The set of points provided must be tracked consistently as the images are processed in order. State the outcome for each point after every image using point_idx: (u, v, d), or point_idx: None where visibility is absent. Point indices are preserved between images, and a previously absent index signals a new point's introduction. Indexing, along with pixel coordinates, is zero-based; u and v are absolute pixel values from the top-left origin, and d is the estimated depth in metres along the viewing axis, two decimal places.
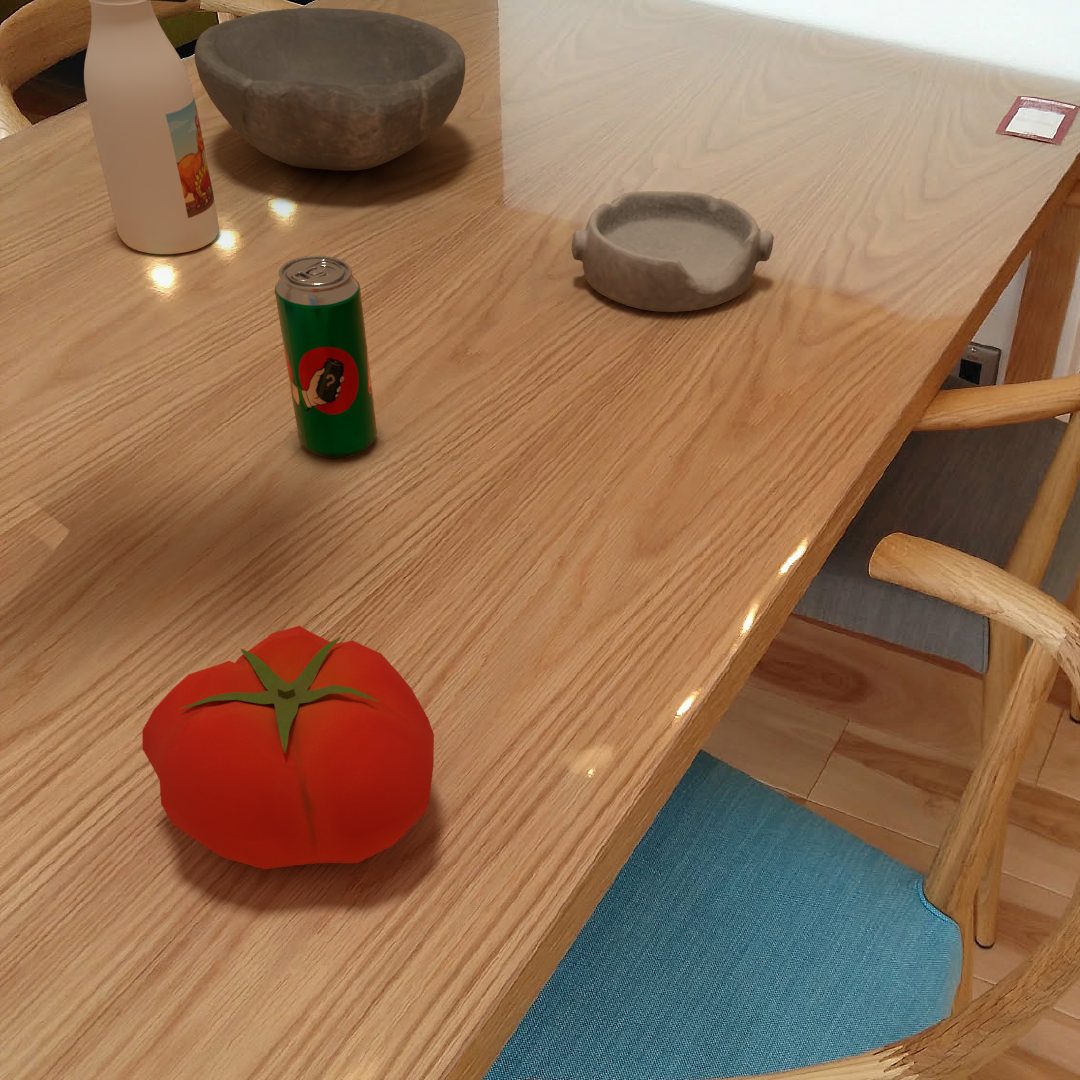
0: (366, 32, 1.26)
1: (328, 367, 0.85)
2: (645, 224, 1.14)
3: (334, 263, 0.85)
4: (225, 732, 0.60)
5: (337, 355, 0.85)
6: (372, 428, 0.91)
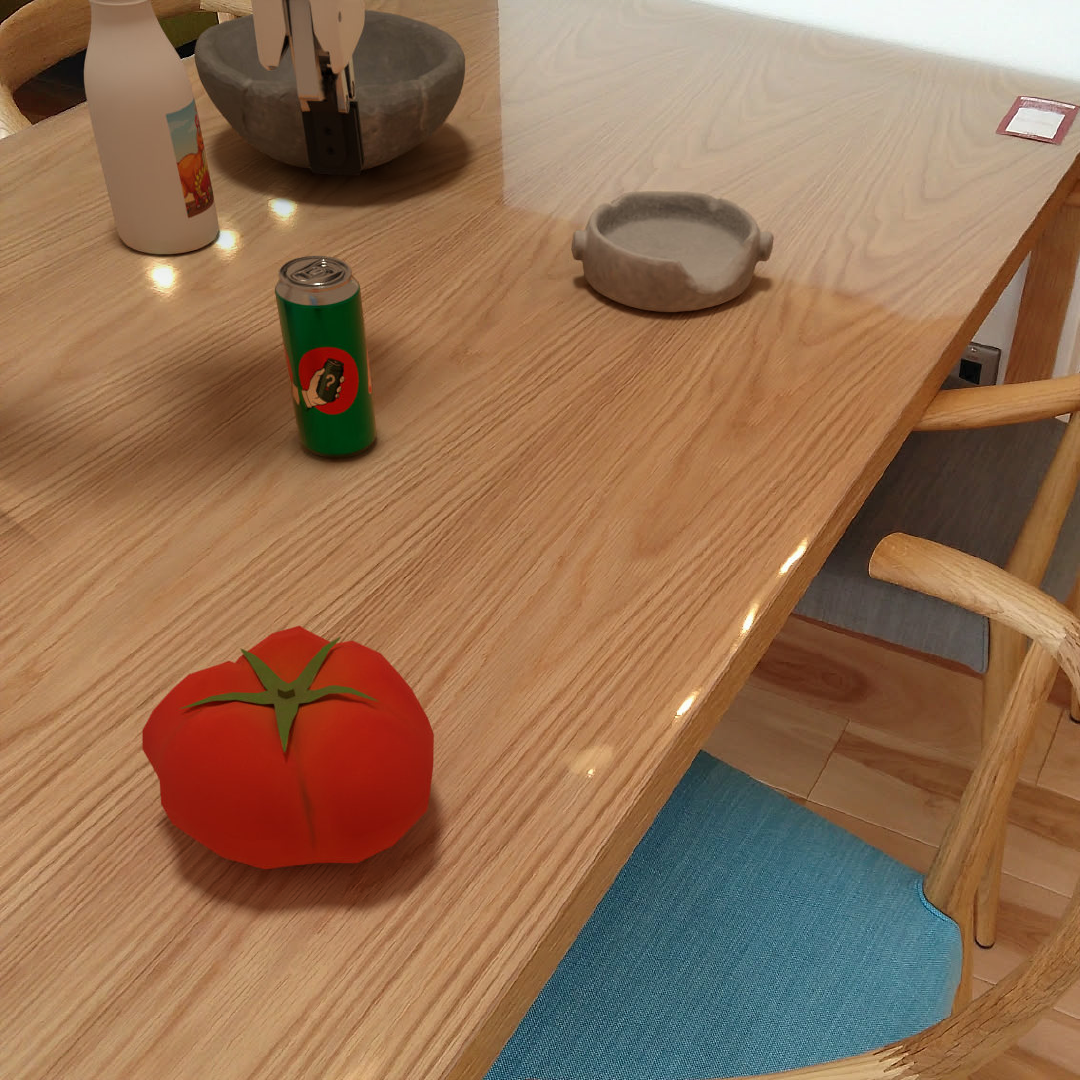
0: (366, 32, 1.26)
1: (328, 367, 0.85)
2: (645, 224, 1.14)
3: (334, 263, 0.85)
4: (224, 733, 0.60)
5: (337, 355, 0.85)
6: (372, 428, 0.91)
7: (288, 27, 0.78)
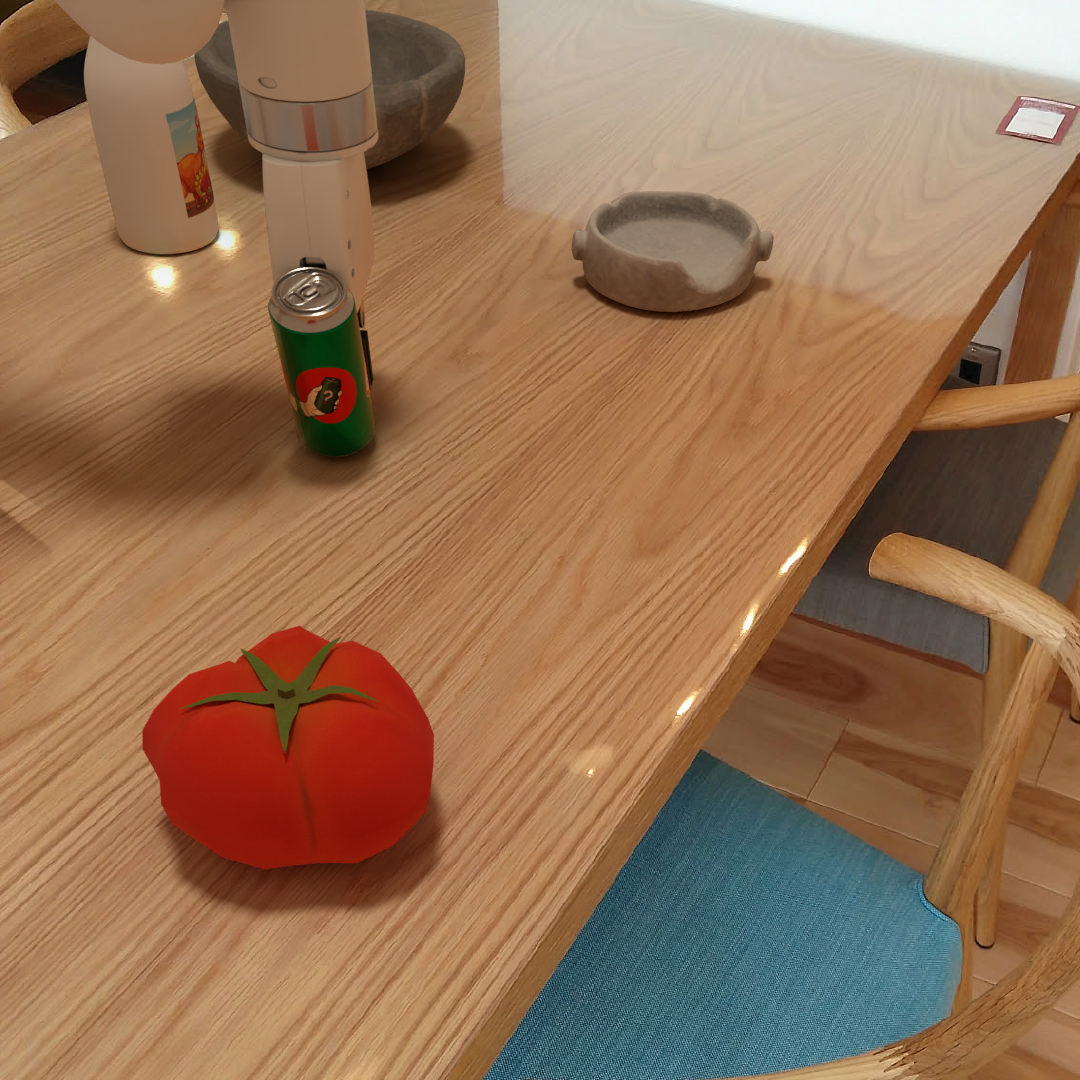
0: None
1: (326, 384, 0.84)
2: (645, 224, 1.14)
3: (328, 278, 0.82)
4: (225, 733, 0.60)
5: (334, 373, 0.84)
6: (371, 426, 0.90)
7: None
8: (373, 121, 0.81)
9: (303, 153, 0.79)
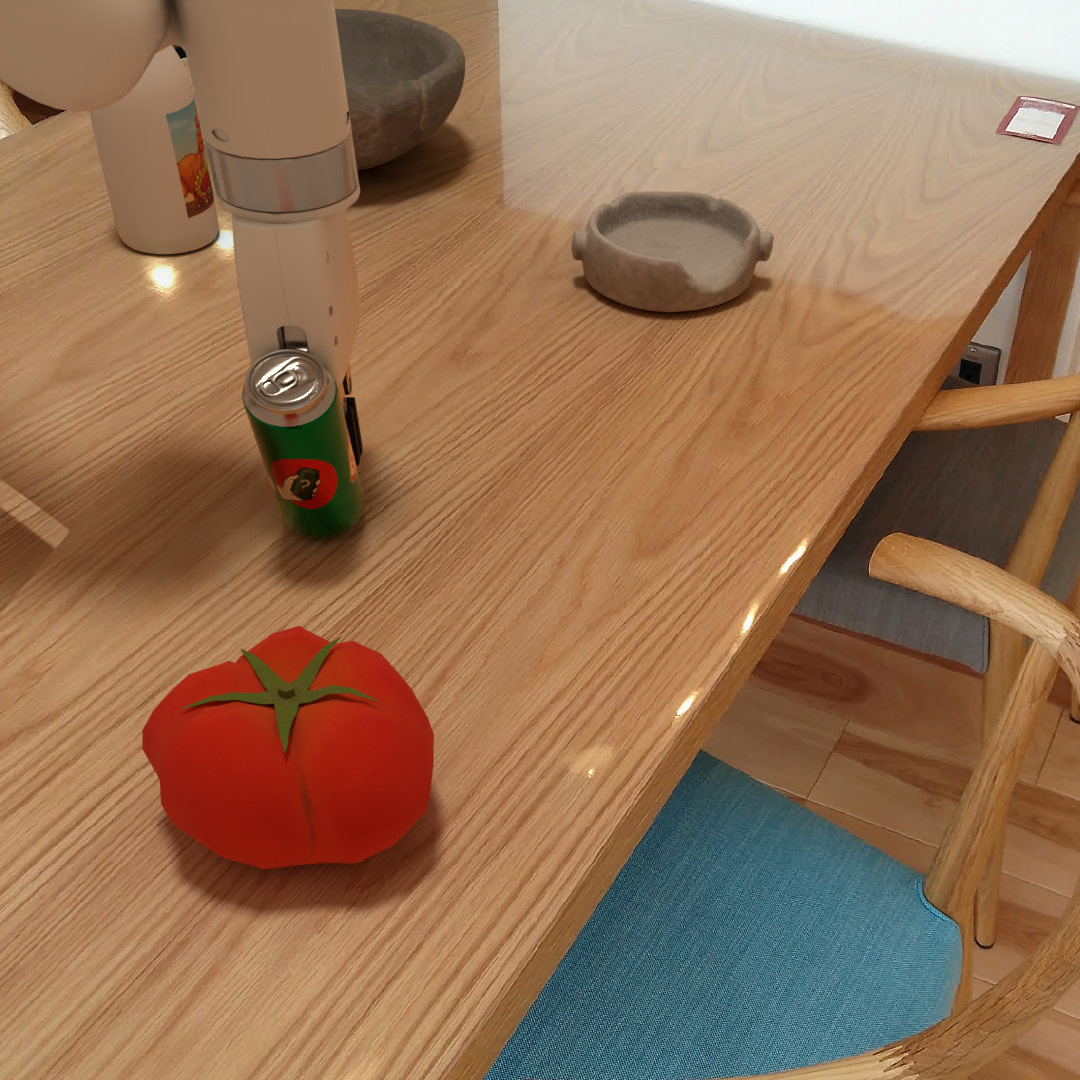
0: (366, 32, 1.26)
1: (302, 474, 0.78)
2: (645, 224, 1.14)
3: (309, 364, 0.75)
4: (225, 733, 0.60)
5: (311, 464, 0.77)
6: (357, 508, 0.83)
7: None
8: (354, 175, 0.74)
9: (277, 214, 0.72)
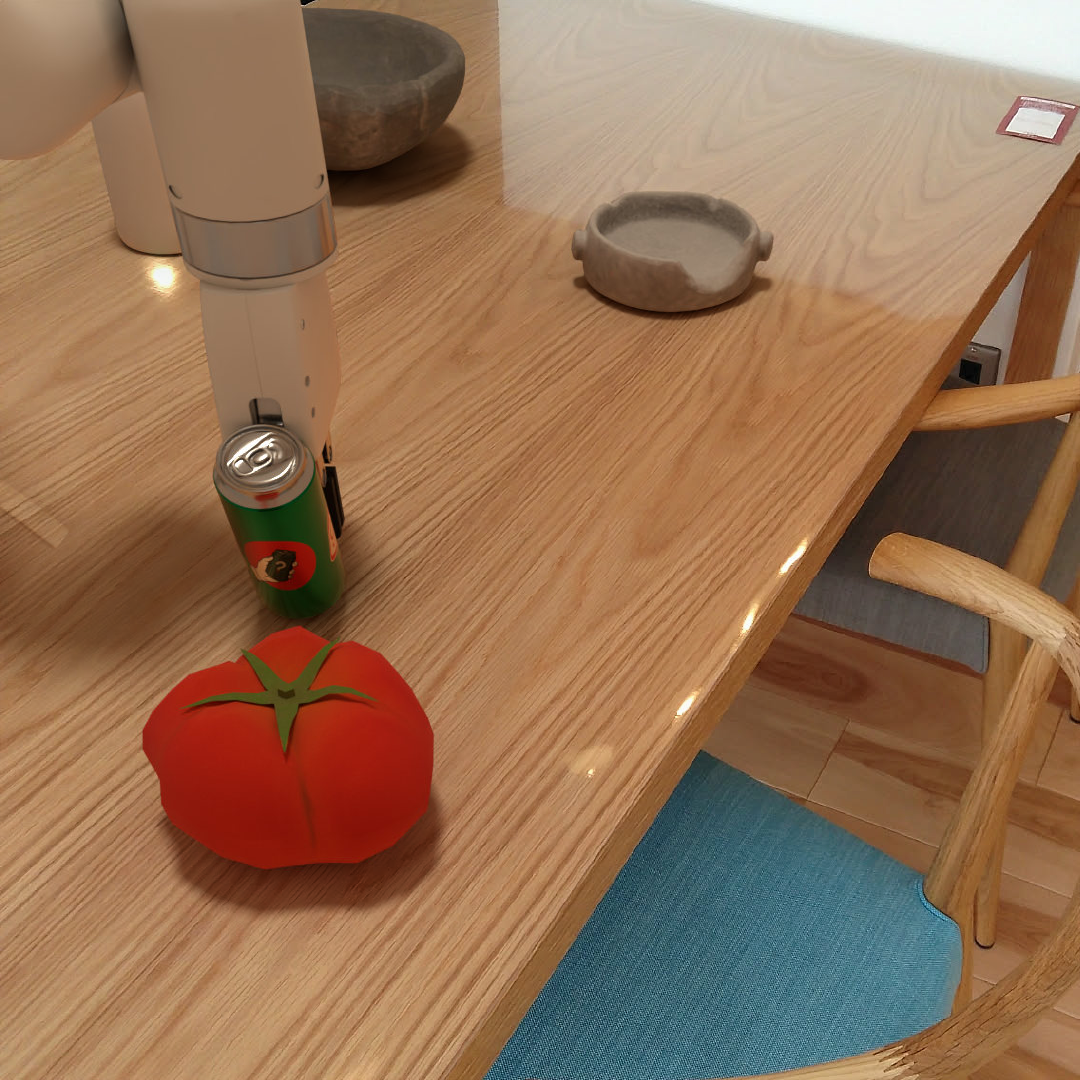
0: (366, 32, 1.26)
1: (277, 556, 0.72)
2: (645, 224, 1.14)
3: (285, 441, 0.69)
4: (225, 733, 0.60)
5: (286, 546, 0.72)
6: (338, 588, 0.78)
7: None
8: (331, 236, 0.68)
9: (248, 280, 0.66)
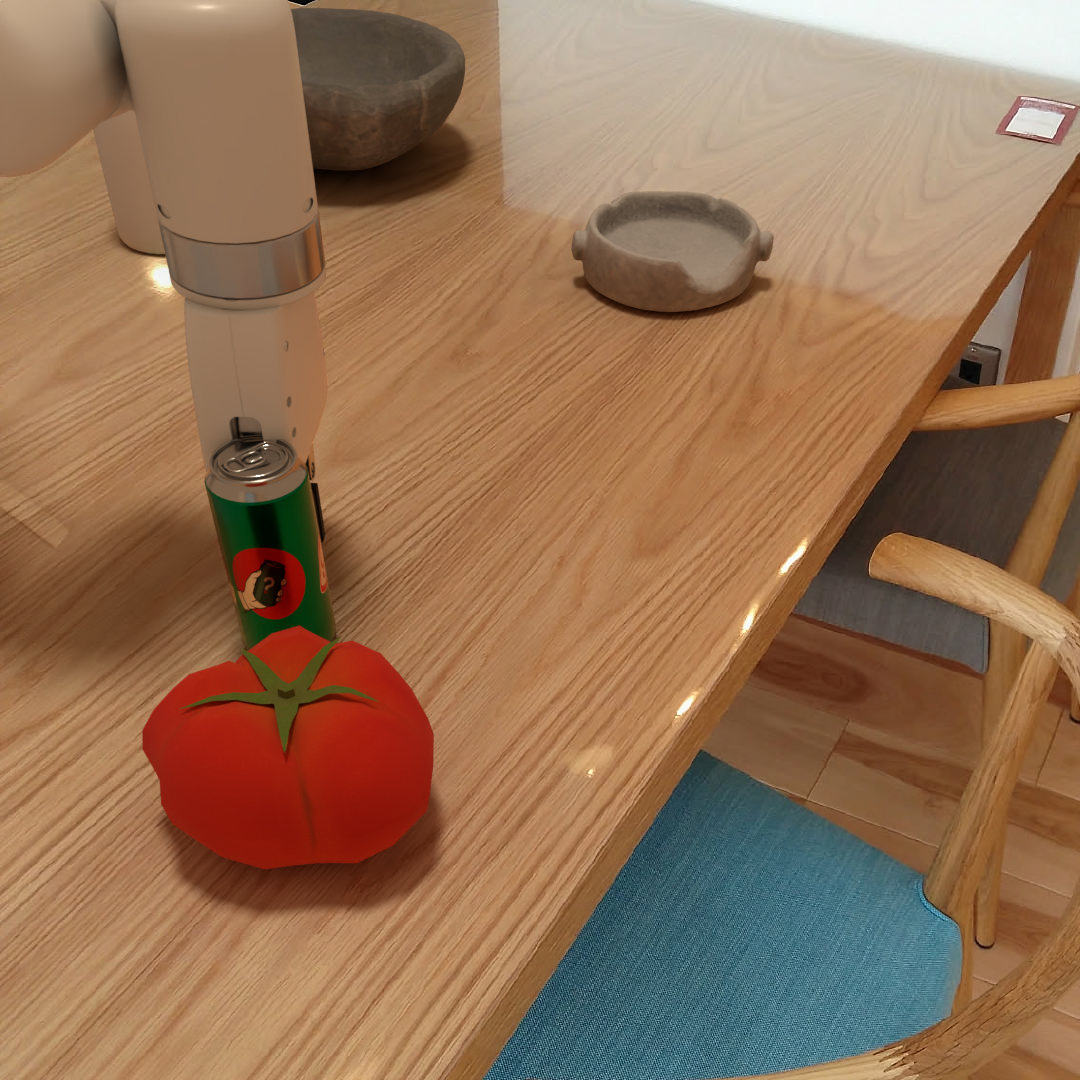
0: (366, 32, 1.26)
1: (266, 569, 0.71)
2: (645, 224, 1.14)
3: (279, 447, 0.70)
4: (224, 733, 0.60)
5: (276, 556, 0.70)
6: (327, 630, 0.76)
7: None
8: (319, 260, 0.68)
9: (232, 300, 0.66)
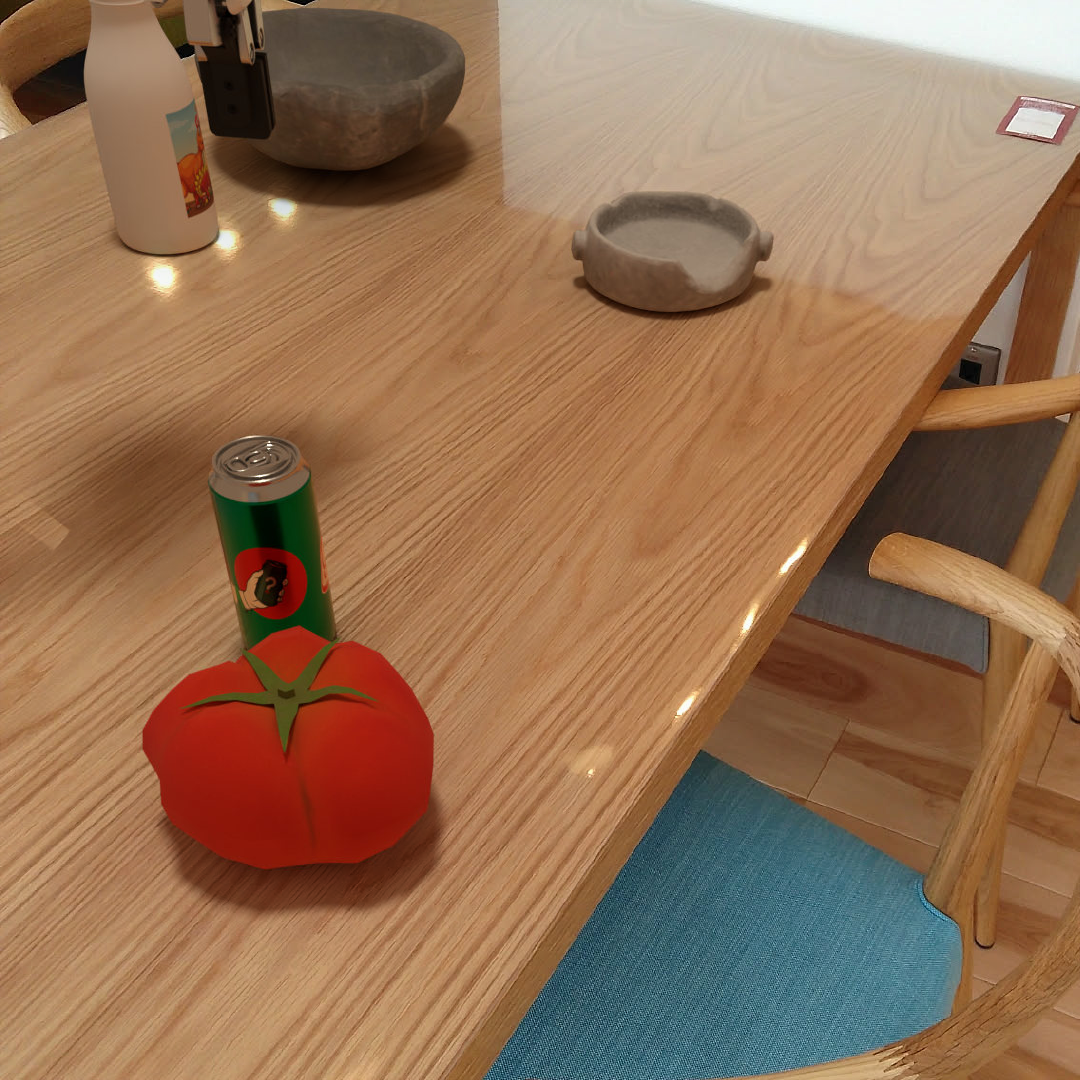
0: (366, 32, 1.26)
1: (268, 569, 0.71)
2: (645, 224, 1.14)
3: (283, 447, 0.70)
4: (225, 733, 0.60)
5: (278, 556, 0.70)
6: (327, 630, 0.76)
7: None
8: None
9: None
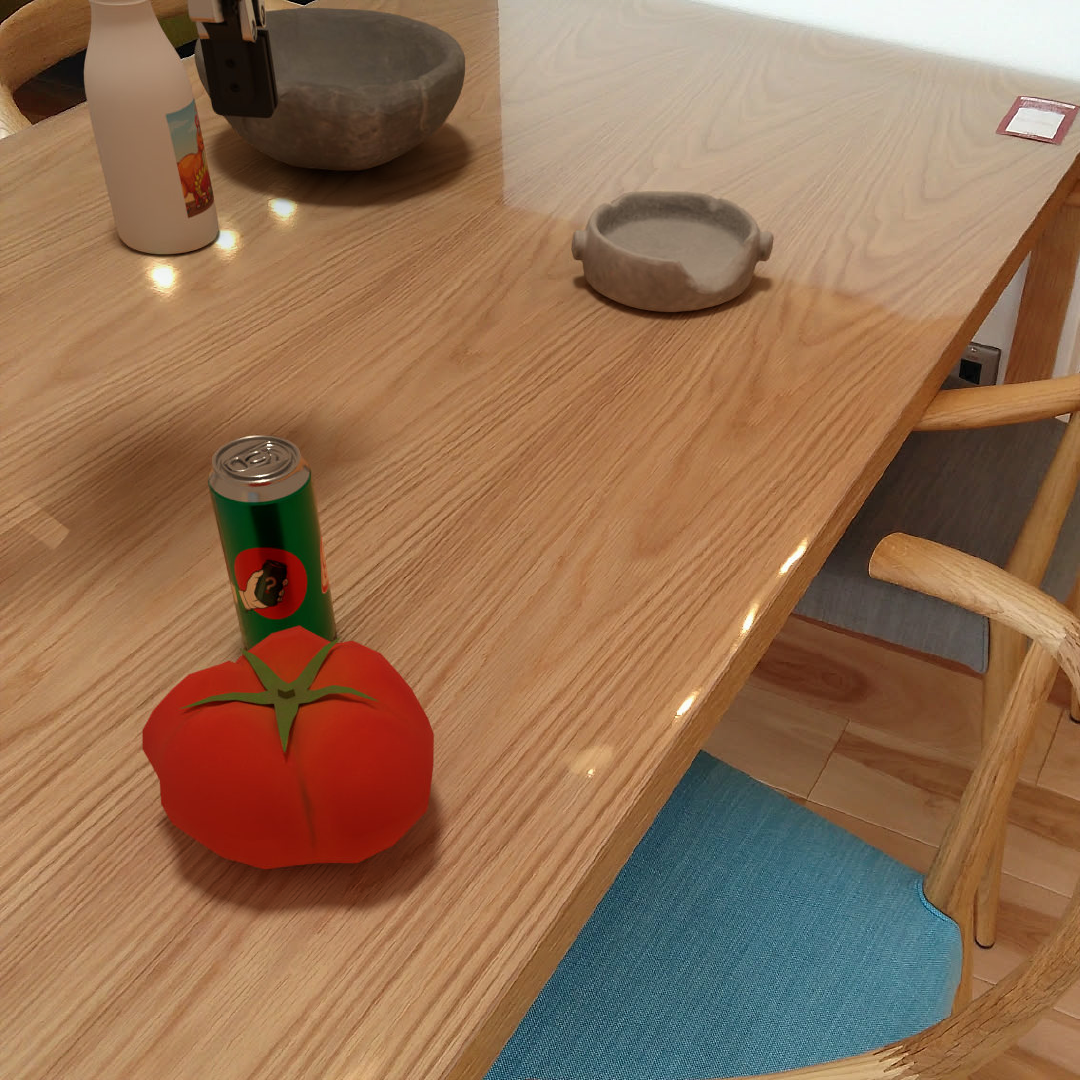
0: (366, 32, 1.26)
1: (268, 569, 0.71)
2: (645, 224, 1.14)
3: (283, 447, 0.70)
4: (225, 733, 0.60)
5: (278, 556, 0.70)
6: (327, 630, 0.76)
7: None
8: None
9: None
